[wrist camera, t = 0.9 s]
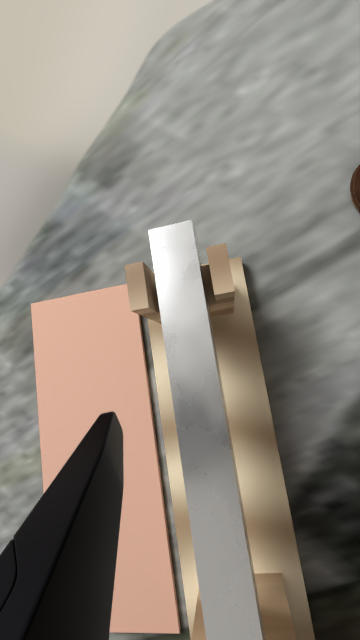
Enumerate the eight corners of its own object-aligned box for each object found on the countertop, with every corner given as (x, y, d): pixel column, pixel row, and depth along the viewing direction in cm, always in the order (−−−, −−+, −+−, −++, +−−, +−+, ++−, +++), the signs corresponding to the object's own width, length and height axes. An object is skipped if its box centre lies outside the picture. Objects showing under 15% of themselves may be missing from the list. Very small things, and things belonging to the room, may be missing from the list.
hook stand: (311, 629, 18) (381, 871, 10) (194, 627, 19) (165, 839, 11) (240, 261, 22) (245, 204, 14) (146, 281, 23) (98, 240, 15)
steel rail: (285, 756, 13) (298, 849, 10) (234, 752, 13) (234, 840, 11) (197, 238, 17) (191, 219, 14) (159, 247, 17) (148, 230, 15)
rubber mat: (180, 627, 19) (179, 633, 19) (56, 626, 21) (53, 631, 21) (135, 283, 23) (134, 282, 23) (34, 304, 25) (31, 303, 25)
